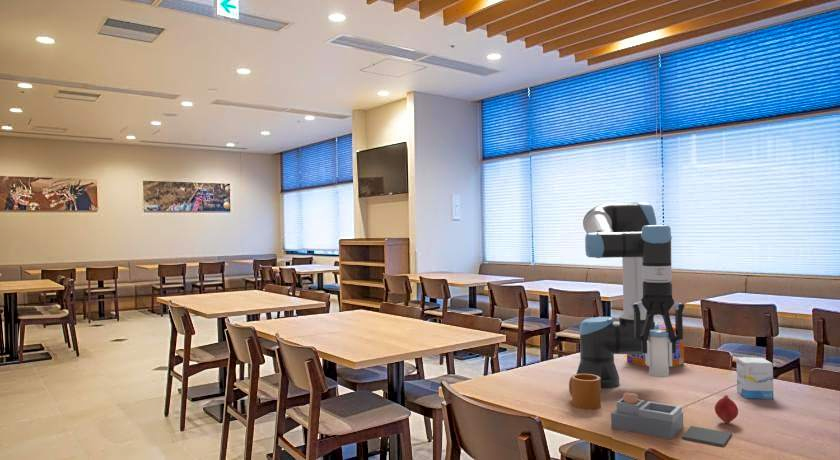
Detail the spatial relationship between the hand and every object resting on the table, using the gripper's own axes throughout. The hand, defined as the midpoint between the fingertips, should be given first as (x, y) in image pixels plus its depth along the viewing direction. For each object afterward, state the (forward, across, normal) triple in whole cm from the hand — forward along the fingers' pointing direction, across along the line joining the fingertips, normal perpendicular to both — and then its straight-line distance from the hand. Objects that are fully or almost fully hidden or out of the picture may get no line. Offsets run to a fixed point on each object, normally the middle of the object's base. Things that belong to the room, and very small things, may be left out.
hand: (658, 364), depth 160 cm
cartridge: (+3, 0, 0) cm, 3 cm away
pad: (+18, +10, -6) cm, 21 cm away
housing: (+18, -3, +1) cm, 18 cm away
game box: (+19, +19, +81) cm, 85 cm away
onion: (+18, +20, +6) cm, 27 cm away
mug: (+18, -18, +22) cm, 34 cm away
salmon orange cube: (+13, -7, +3) cm, 15 cm away
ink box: (+19, +39, +36) cm, 56 cm away
